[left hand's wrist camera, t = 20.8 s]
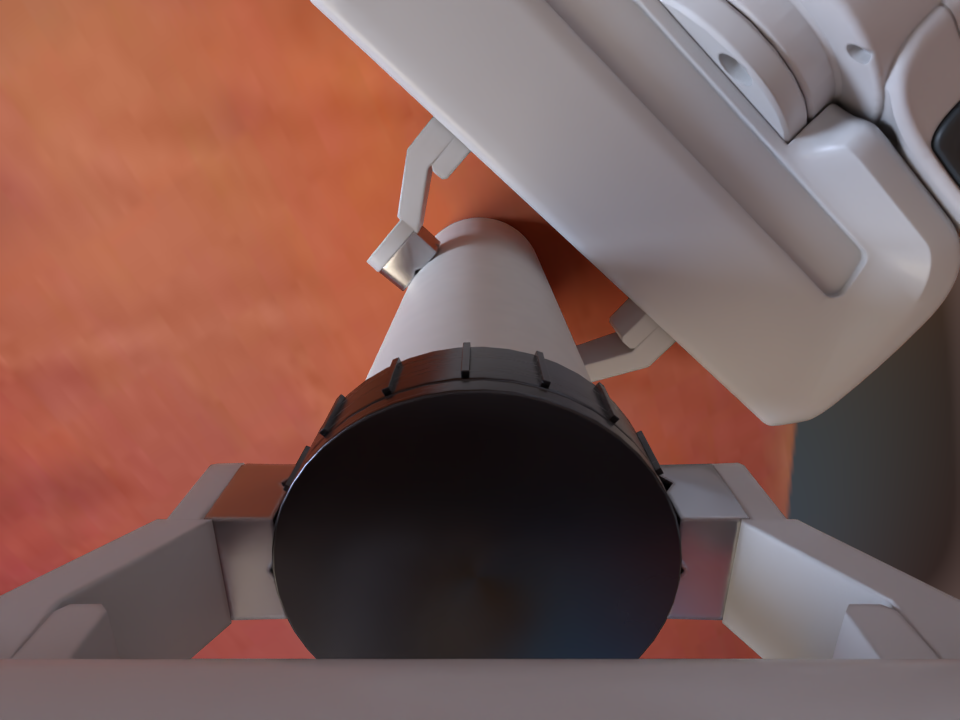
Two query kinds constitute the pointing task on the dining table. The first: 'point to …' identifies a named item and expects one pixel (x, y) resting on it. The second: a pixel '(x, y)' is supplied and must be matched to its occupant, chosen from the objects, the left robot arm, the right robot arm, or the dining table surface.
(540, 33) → the right robot arm
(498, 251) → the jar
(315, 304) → the dining table surface
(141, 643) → the left robot arm
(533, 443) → the lid
